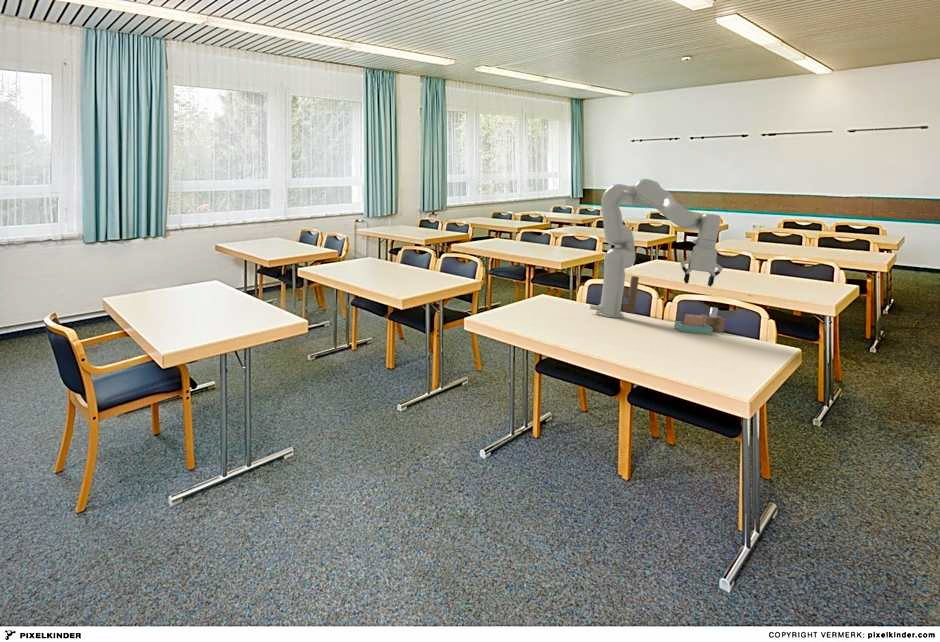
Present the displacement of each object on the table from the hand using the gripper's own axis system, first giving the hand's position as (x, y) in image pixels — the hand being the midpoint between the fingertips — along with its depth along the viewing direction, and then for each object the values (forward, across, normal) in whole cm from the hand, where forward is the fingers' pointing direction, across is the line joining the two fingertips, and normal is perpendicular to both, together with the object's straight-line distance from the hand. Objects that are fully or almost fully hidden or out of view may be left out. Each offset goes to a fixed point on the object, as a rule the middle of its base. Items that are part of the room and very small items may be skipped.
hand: (697, 284), depth 246 cm
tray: (+20, +1, -1) cm, 20 cm away
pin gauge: (+20, +11, +7) cm, 24 cm away
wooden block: (+22, -21, +41) cm, 51 cm away
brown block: (+20, +11, +7) cm, 24 cm away
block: (+19, +1, -1) cm, 19 cm away
